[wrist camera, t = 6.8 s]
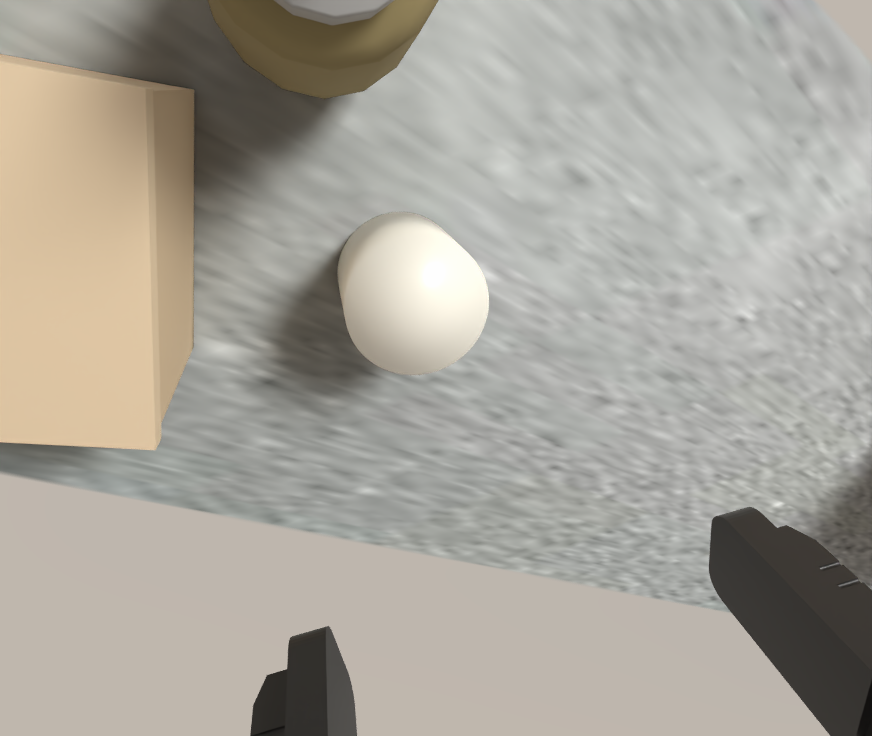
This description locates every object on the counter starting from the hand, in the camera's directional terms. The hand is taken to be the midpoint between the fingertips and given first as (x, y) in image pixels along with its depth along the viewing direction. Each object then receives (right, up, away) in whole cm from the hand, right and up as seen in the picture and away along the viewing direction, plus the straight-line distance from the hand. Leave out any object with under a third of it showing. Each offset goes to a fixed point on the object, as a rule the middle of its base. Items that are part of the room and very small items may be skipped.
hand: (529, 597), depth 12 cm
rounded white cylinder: (-4, +10, +18) cm, 21 cm away
